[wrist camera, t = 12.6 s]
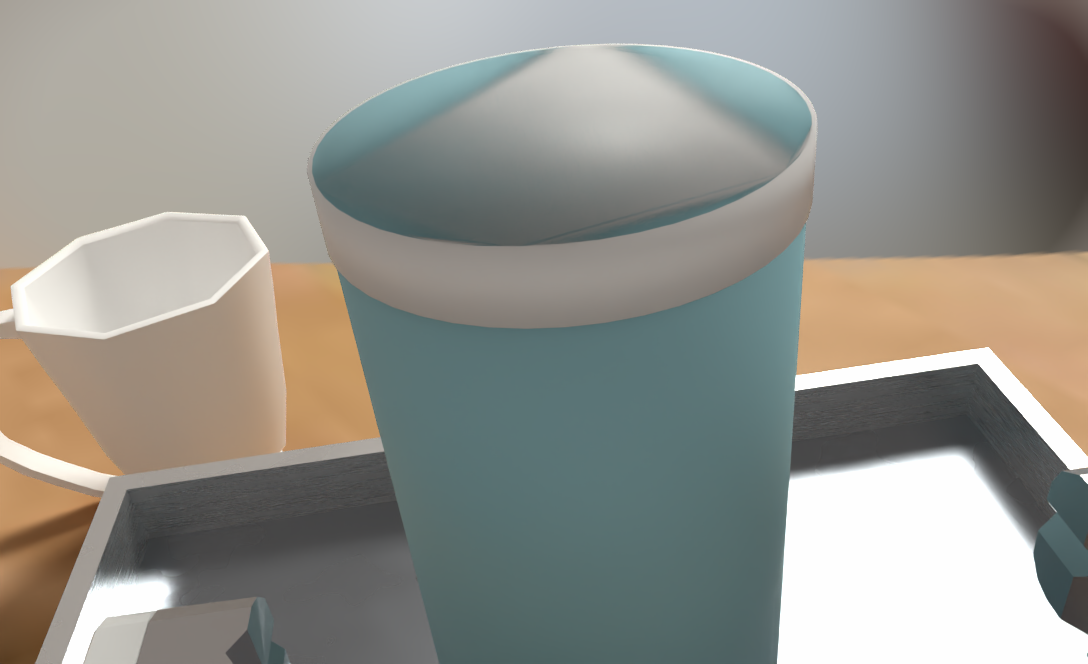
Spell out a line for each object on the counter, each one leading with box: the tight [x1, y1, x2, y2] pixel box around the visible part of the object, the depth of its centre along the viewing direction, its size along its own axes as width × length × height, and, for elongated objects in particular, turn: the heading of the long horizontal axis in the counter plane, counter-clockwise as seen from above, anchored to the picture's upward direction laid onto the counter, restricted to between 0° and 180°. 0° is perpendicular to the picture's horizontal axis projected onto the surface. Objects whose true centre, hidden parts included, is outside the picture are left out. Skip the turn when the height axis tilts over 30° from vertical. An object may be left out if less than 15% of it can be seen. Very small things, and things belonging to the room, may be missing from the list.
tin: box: [307, 44, 817, 664], centre depth 13 cm, size 5×5×11 cm
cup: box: [0, 212, 286, 498], centre depth 28 cm, size 7×10×8 cm
